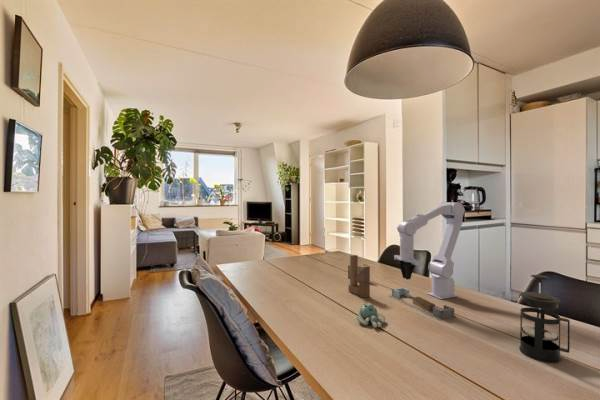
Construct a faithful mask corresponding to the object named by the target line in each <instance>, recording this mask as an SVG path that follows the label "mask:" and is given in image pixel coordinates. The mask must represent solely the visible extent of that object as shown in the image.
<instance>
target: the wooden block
mask: <svg viewBox="0 0 600 400" xmlns="http://www.w3.org/2000/svg"><path fill="white" fill-rule="evenodd" d="M349 257H350V258H349V262H350V263H349V265H350V279H349V280H350V281H349V283H350V284H348V292H349V293H351V294H354V295H356V296H358V297H362V298H363V299H365V298H370V295H371V294H370V293H371V289H370V287H371V286H370V283H371V282H370V281H371V277H370V276H371V275H370V274H371V271H370V270H371V269H370V268H371V267H370V265H368V266H367V267H364V266H363V267H364V268H363V269H362V270H361V271H360V272H359V273H358V266H359V262H358V260H359V257H358V254H350V255H349ZM358 280H359V281H358Z"/></svg>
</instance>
